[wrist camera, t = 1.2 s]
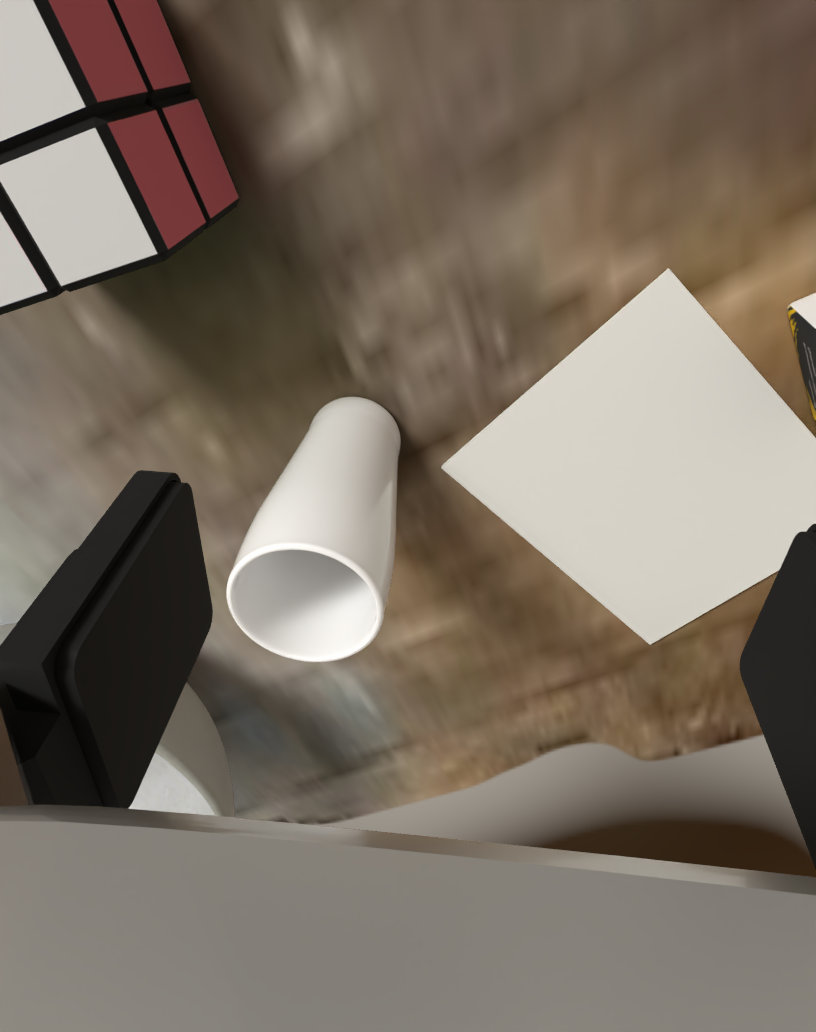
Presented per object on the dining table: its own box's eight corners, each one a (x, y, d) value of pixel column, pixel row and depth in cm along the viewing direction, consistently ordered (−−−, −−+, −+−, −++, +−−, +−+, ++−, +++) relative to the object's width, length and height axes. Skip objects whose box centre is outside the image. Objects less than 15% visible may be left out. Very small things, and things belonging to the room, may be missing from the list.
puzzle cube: (141, -45, 29) (9, -71, 21) (244, 203, 34) (170, 260, 26) (-50, 42, 32) (-235, 50, 23) (73, 262, 37) (-42, 331, 29)
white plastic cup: (409, 378, 39) (376, 542, 27) (418, 481, 43) (392, 666, 31) (290, 382, 40) (205, 543, 27) (309, 483, 44) (242, 664, 31)
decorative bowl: (270, 799, 64) (231, 941, 54) (-23, 751, 63) (-116, 885, 54) (282, 579, 48) (231, 722, 38) (-106, 513, 48) (-258, 641, 38)
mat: (668, 267, 34) (669, 269, 34) (877, 509, 41) (879, 511, 41) (441, 465, 42) (441, 468, 42) (649, 641, 49) (650, 644, 48)
